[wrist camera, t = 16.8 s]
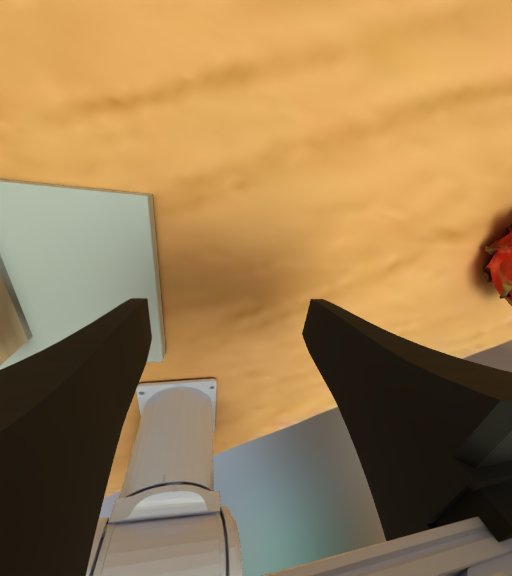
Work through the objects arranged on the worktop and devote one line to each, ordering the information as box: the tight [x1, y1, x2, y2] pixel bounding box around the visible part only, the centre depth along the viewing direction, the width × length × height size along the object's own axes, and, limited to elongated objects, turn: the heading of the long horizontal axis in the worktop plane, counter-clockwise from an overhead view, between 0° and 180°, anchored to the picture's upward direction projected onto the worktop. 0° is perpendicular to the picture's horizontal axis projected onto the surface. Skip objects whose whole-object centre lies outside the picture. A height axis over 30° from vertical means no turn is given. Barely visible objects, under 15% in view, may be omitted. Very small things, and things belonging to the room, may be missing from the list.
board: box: [0, 179, 166, 370], centre depth 16 cm, size 14×20×2 cm
